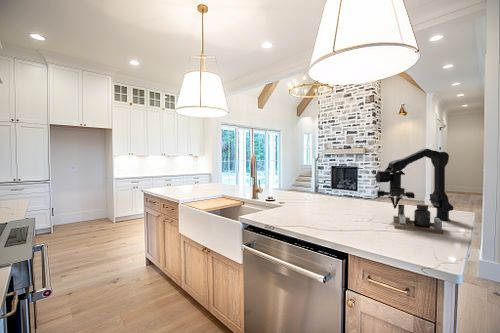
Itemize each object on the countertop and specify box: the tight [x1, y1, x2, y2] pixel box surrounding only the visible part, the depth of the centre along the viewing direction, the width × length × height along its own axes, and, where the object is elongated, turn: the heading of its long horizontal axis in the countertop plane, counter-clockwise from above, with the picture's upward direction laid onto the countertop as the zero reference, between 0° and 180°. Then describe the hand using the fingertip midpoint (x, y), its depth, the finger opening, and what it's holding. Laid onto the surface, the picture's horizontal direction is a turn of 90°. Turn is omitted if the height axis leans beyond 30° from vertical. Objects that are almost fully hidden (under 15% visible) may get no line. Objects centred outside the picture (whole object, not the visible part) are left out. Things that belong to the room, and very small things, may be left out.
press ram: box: [397, 203, 407, 226], centre depth 133 cm, size 18×3×8 cm, turn 150°
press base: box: [392, 215, 444, 235], centre depth 128 cm, size 22×20×5 cm
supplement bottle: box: [413, 203, 431, 228], centre depth 123 cm, size 7×7×12 cm
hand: (394, 208), depth 141 cm, fingers closed
